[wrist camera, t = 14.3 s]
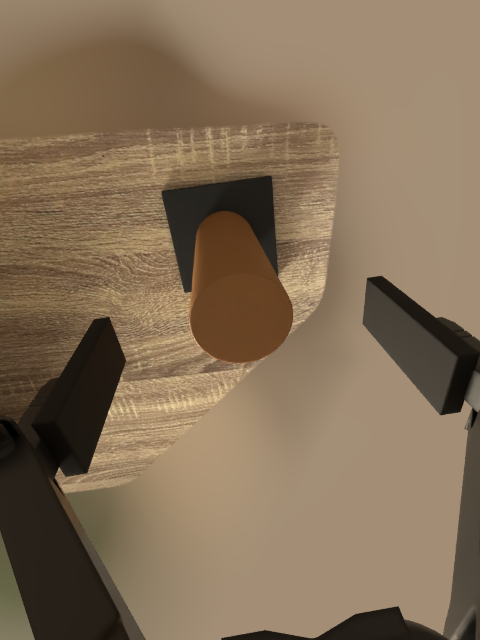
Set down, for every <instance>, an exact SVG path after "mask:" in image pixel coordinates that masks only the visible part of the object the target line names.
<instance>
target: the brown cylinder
mask: <svg viewBox="0 0 480 640" xmlns="http://www.w3.org/2000/svg"><path fill="white" fill-rule="evenodd" d="M292 321H293V309H292V304H291V301H290V299H289V296H288V295H287V293H286V291H285V289H284V287H283V285H282V284H281V282H280V280H279V278H278V276H277V274H276V273H275V271H274V269H273V267H272V265H271V263H270V262H269V260H268V258H267V256H266V254H265V252H264V251H263V249H262V247H261V245H260V243H259V241H258V240H257V238H256V236H255V234H254V232H253V230H252V229H251V227H250V225H249V223H248V222H247V221H246V220H245V219H244V218H243V217H242V216H240V215H239V214H237V213H234V212H231V211H219V212H215V213H213V214H211V215H209V216H208V217H206V218H205V219H204V220H203V221H202V223H201V224H200V226H199V228H198V230H197V234H196V244H195V256H194V267H193V279H192V291H191V303H190V315H189V324H190V330H191V333H192V336H193V338H194V340H195V341H196V343H197V344H198V345H199V347H200V348H201V349H202V350H203V351H205V352H206V353H207V354H209V355H210V356H212V357H214V358H216V359H218V360H221V361H224V362H229V363H248V362H252V361H256V360H259V359H261V358H264V357H266V356H267V355H269V354H271V353H272V352H273V351H275V350H276V349H277V348H278V347H279V346H280V345H281V344H282V343H283V342H284V340H285V339H286V337H287V336H288V334H289V332H290V329H291V326H292Z"/></svg>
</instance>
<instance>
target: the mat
mask: <svg viewBox="0 0 480 640" xmlns="http://www.w3.org/2000/svg"><path fill="white" fill-rule="evenodd" d="M162 197H163V201H164V206H165V210H166V214H167V219H168V223H169V227H170V232H171V236H172V241H173V245H174V249H175V254H176V258H177V262H178V267H179V271H180V275H181V280H182V284H183V288H184V292H185V293H186V292H191V291H192V279H193V267H194V256H195V244H196V234H197V230H198V228H199V226H200V224H201V223H202V221H203V220H204V219H205V218H206V217H208V216H209V215H211V214H213V213H215V212H219V211H231V212H234V213H237V214H239V215H240V216H242V217H243V218H244V219H245V220H246V221H247V222H248V223H249V225H250V227H251V229H252V230H253V232H254V234H255V236H256V238H257V240H258V241H259V243H260V245H261V247H262V249H263V251H264V252H265V254H266V256H267V258H268V260H269V262H270V263H271V265H272V267H273V269H274V271H275V273H276V274H277V276H278V269H277V253H276V237H275V221H274V205H273V189H272V177H271V176H265V177H258V178H251V179H244V180H237V181H230V182H223V183H216V184H209V185H202V186H195V187H188V188H181V189H174V190H167V191H162Z"/></svg>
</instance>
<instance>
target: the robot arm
mask: <svg viewBox="0 0 480 640" xmlns="http://www.w3.org/2000/svg"><path fill="white" fill-rule="evenodd" d="M363 325H364V326H365V327H366V328H367V329H368V331H369V332H370V333H371V334H372V335H373V337H374V338H375V339H376V340H377V341H378V343H379V344H380V345H381V346H382V347H383V348H384V350H385V351H386V352H387V353H388V354H389V355H390V356H391V358H392V359H393V360H394V361H395V362H396V364H397V365H398V366H399V367H400V368H401V369H402V371H403V372H404V373H405V374H406V375H407V377H408V378H409V379H410V380H411V381H412V383H413V384H414V385H415V386H416V387H417V388H418V390H420V392H421V393H422V394H423V395H424V397H425V398H426V399H427V400H428V401H429V403H430V404H431V405H432V406H433V407H434V408H435V410H436V411H437V412H438V413H439V414H440V415H445V414H452V413H458V412H461V409H462V406H463V403H464V400H465V401H466V402H467V403H468V404H469V405H470V406H471V407H472V410H471V413H470V415H469V418H468V421H467V424H466V426H465V429H466V430H468V437H467V446H466V457H465V467H464V475H463V485H462V496H461V505H460V515H459V524H458V534H457V543H456V554H455V563H454V573H453V583H452V592H451V601H450V606H449V610H448V614H447V618H446V621H445V626H444V632H443V635H441V634H439V633H438V632H436V631H434V630H432V629H430V628H428V627H425V626H423V625H421V624H418V623H415V622H412V621H409V620H404V619H403V616H402V614H401V611H400V609H399V607H392V608H387V609H381V610H375V611H370V612H364V613H359V614H355V615H353V616H352V617H350V618H349V619H347V620H345V621H343V622H342V623H340V624H338V625H337V626H335V627H334V628H332V629H330V630H329V631H327V632H325V633H324V634H322V635H320V636H319V637H317V638H305V637H300V636H294V635H289V634H283V633H277V632H272V631H266V630H264V631H259V632H253V633H247V634H242V635H236V636H231V637H225V638H221V640H480V341H479V340H478V339H476V338H475V337H472V335H471V334H470V333H468V332H467V331H464V329H463V328H462V327H460V326H458V325H457V324H456V323H455V322H452V321H450V320H447V319H445V318H443V317H440V318H435V317H434V316H433V315H431V314H430V313H429V312H427V311H426V310H425V309H424V308H422V307H421V306H420V305H418V304H417V303H416V302H415V301H413V300H412V299H411V298H409V297H408V296H407V295H406V294H404V293H403V292H402V291H401V290H399V289H398V288H397V287H396V286H394V285H393V284H392V283H390V282H389V281H388V280H387V279H385V278H384V277H382V276H377V277H370V278H367V285H366V294H365V306H364V316H363ZM125 362H126V359H125V356H124V354H123V351H122V349H121V346H120V343H119V341H118V338H117V336H116V333H115V330H114V328H113V325H112V323H111V320H110V318H109V317H106V318H100V319H94V320H93V322H92V323H91V325H90V327H89V328H88V330H87V332H86V333H85V335H84V337H83V338H82V340H81V342H80V343H79V345H78V347H77V348H76V350H75V352H74V353H73V355H72V357H71V358H70V360H69V362H68V363H67V365H66V367H65V368H64V370H63V372H62V373H61V375H60V377H59V378H53V379H50V380H49V381H48V382H47V383H46V384H45V385H44V386H42V387H41V388H40V390H39V391H38V393H37V394H36V396H35V399H34V400H33V401H32V402H31V404H30V405H29V408H27V410H26V411H25V413H24V415H23V416H22V418H21V419H20V421H19V422H18V424H16V422H15V421H14V419H13V418H11V417H10V416H0V531H1V534H2V538H3V541H4V544H5V547H6V550H7V553H8V556H9V559H10V563H11V566H12V569H13V572H14V575H15V578H16V581H17V584H18V588H19V591H20V594H21V597H22V601H23V603H24V607H25V610H26V613H27V616H28V619H29V623H30V626H31V628H32V632H33V635H34V638H35V640H146V639H145V637H144V636H143V634H142V632H141V630H140V628H139V627H138V625H137V623H136V621H135V620H134V618H133V616H132V614H131V612H130V610H129V609H128V607H127V605H126V603H125V602H124V600H123V598H122V597H121V595H120V593H119V591H118V589H117V587H116V585H115V584H114V582H113V580H112V578H111V576H110V575H109V573H108V571H107V569H106V568H105V566H104V564H103V562H102V560H101V559H100V557H99V555H98V553H97V551H96V550H95V548H94V546H93V544H92V542H91V541H90V539H89V537H88V535H87V533H86V532H85V530H84V528H83V526H82V525H81V523H80V521H79V519H78V518H77V516H76V514H75V512H74V510H73V509H72V507H71V505H70V503H69V502H68V499H67V498H66V496H65V494H64V492H63V491H62V489H61V487H60V485H59V483H58V482H57V480H56V479H55V478H54V477H55V475H56V473H57V471H58V468H59V467H60V469H61V470H62V472H63V473H64V475H65V476H66V477H68V476H74V475H80V474H86V473H87V472H88V469H89V466H90V463H91V460H92V458H93V455H94V452H95V449H96V446H97V443H98V440H99V437H100V434H101V432H102V429H103V426H104V423H105V420H106V417H107V414H108V411H109V408H110V406H111V403H112V400H113V397H114V394H115V391H116V388H117V385H118V383H119V380H120V377H121V374H122V371H123V368H124V365H125Z"/></svg>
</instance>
